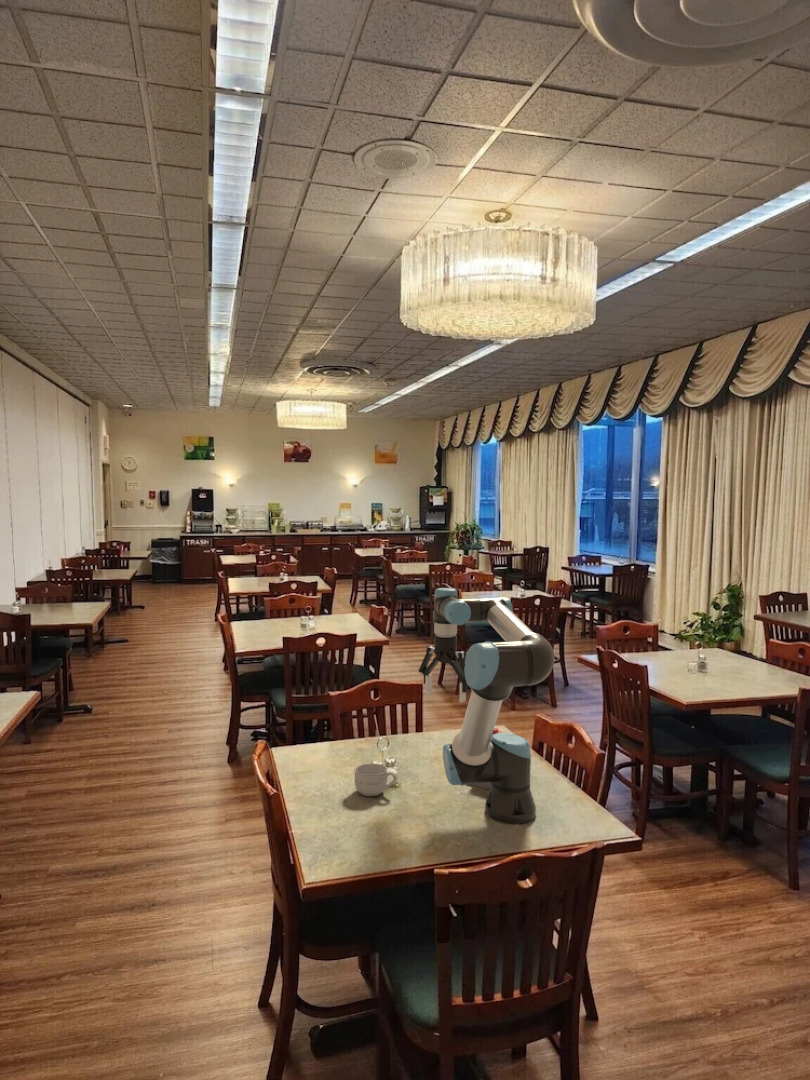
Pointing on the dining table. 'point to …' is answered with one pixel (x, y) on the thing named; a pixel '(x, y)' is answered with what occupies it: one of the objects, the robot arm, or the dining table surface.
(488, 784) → the panel
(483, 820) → the dining table surface
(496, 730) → the red cylinder with knob
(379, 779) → the teacup
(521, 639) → the robot arm
